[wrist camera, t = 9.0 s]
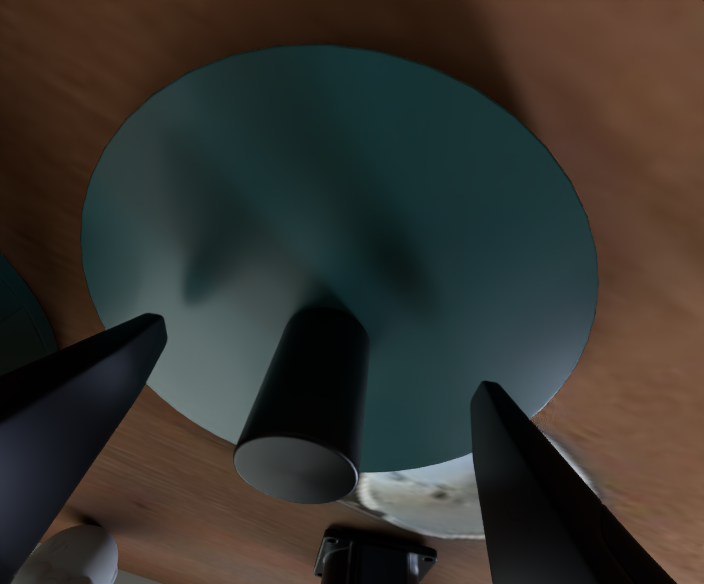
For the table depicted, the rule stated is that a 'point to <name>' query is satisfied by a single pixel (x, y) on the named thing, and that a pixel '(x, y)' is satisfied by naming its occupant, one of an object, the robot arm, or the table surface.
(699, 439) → the table surface
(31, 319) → the pot
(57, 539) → the grey sculpted lump
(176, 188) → the lid
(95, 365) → the robot arm
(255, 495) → the table surface
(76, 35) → the table surface
